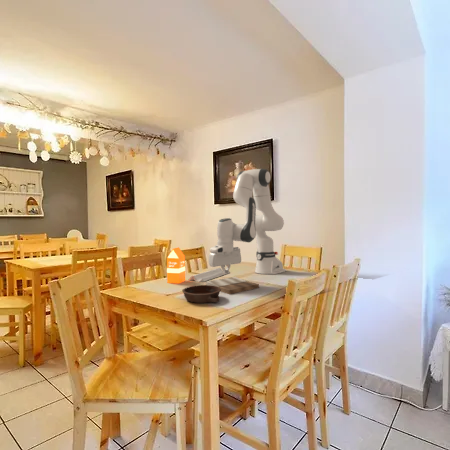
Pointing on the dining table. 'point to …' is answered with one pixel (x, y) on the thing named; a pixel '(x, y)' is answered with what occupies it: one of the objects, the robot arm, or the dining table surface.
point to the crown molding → (208, 275)
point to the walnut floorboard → (238, 287)
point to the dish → (202, 293)
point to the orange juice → (176, 266)
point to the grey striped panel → (225, 281)
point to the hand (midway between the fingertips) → (225, 273)
